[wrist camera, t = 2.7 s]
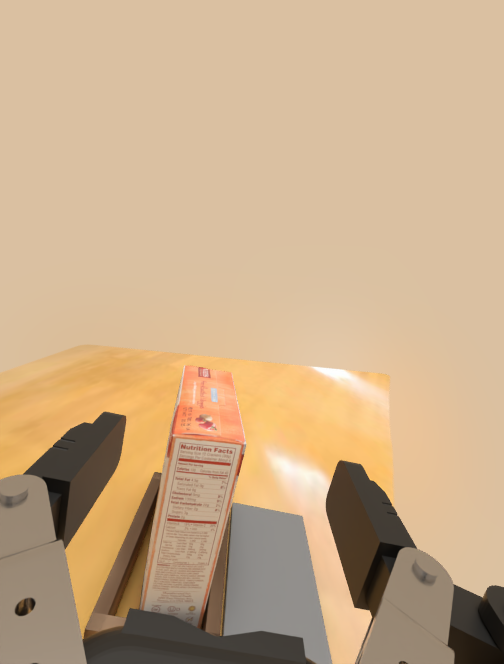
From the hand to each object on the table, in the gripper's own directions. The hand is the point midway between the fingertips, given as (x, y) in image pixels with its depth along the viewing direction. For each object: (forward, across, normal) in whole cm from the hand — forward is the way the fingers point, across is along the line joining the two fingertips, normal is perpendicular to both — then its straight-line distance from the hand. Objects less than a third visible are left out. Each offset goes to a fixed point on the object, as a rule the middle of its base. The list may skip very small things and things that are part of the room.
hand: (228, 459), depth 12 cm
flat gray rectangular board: (+18, -9, +27) cm, 33 cm away
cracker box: (+18, +2, +27) cm, 32 cm away
